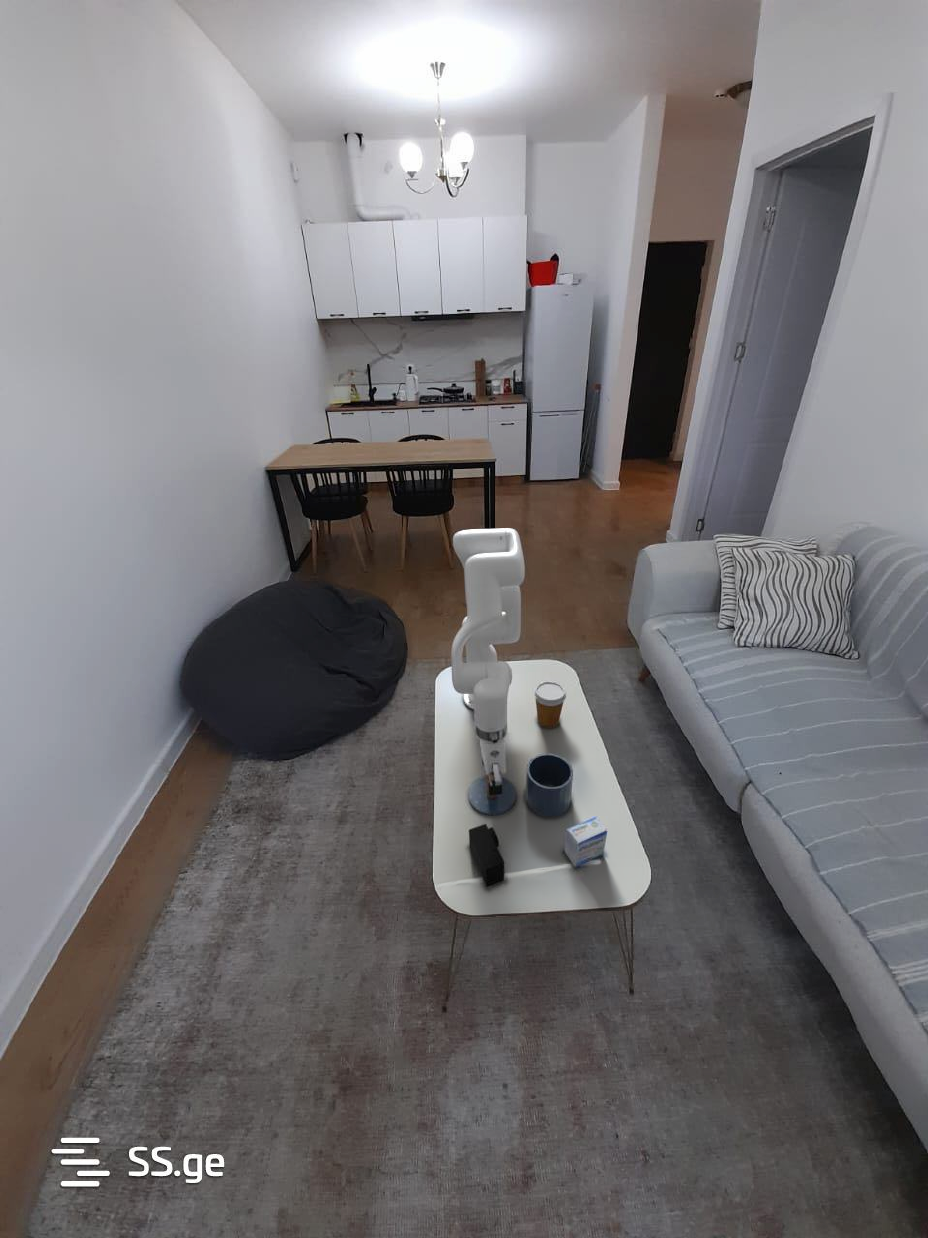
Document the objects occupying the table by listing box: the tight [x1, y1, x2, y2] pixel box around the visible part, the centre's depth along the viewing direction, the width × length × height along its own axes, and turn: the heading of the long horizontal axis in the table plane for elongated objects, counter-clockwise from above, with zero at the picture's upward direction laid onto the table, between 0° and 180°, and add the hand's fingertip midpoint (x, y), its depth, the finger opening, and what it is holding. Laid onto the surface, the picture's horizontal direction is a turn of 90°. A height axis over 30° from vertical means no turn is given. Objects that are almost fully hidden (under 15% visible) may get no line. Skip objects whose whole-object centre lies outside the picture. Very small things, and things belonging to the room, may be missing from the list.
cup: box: [525, 752, 574, 817], centre depth 125 cm, size 11×11×10 cm
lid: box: [468, 774, 517, 816], centre depth 127 cm, size 12×12×7 cm
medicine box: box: [564, 816, 608, 868], centre depth 112 cm, size 8×4×9 cm, turn 114°
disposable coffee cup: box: [533, 680, 567, 729], centre depth 149 cm, size 10×10×12 cm
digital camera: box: [468, 823, 505, 889], centre depth 111 cm, size 10×5×7 cm, turn 21°
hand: (491, 778), depth 124 cm, fingers open, 9 cm apart
